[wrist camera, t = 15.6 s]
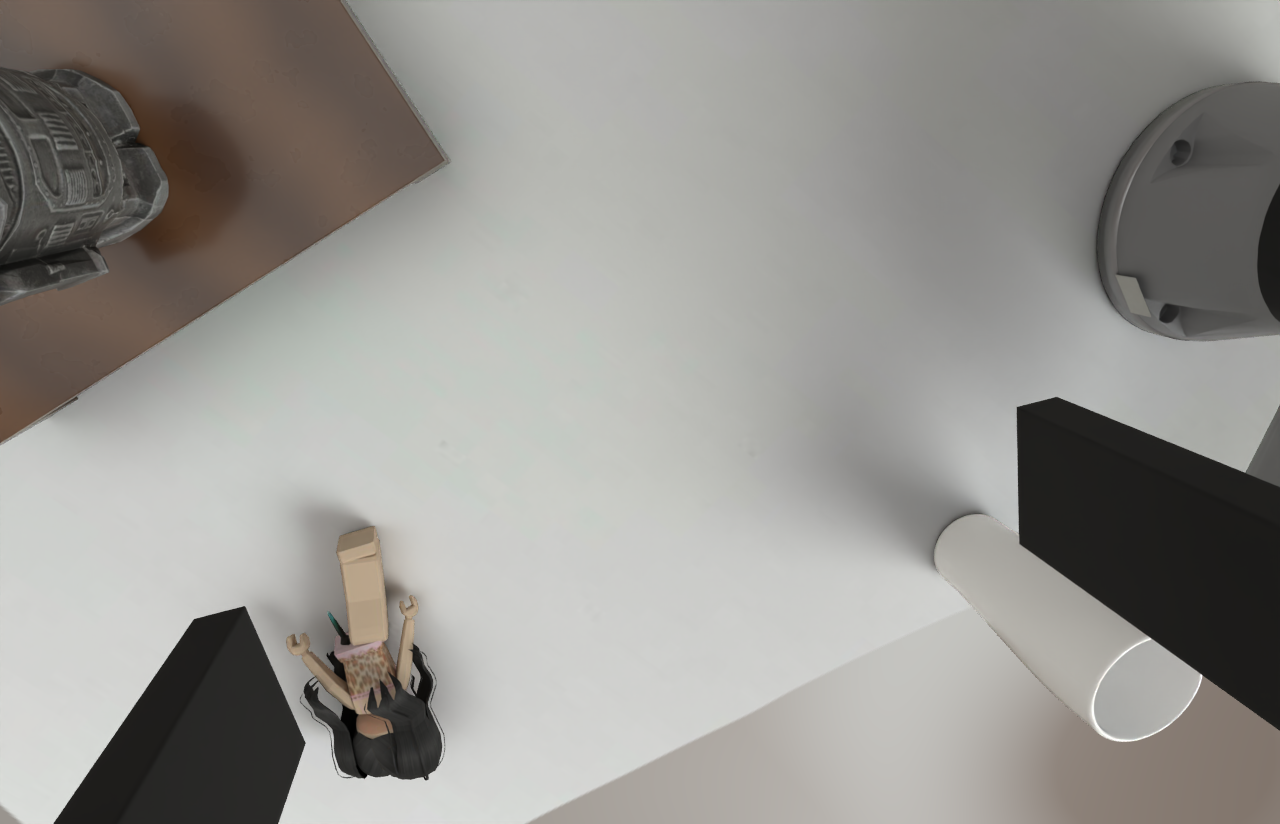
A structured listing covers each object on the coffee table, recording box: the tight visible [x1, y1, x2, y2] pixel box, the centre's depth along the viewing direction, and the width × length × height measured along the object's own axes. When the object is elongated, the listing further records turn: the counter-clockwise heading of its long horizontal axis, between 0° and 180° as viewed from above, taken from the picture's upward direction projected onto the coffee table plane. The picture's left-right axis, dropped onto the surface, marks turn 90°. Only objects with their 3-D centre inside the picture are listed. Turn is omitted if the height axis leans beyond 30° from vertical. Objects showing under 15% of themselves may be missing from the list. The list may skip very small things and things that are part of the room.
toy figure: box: [286, 526, 445, 780], centre depth 41 cm, size 7×6×15 cm
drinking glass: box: [934, 514, 1203, 742], centre depth 44 cm, size 7×7×15 cm
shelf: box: [0, 0, 450, 445], centre depth 31 cm, size 24×14×6 cm, turn 121°
